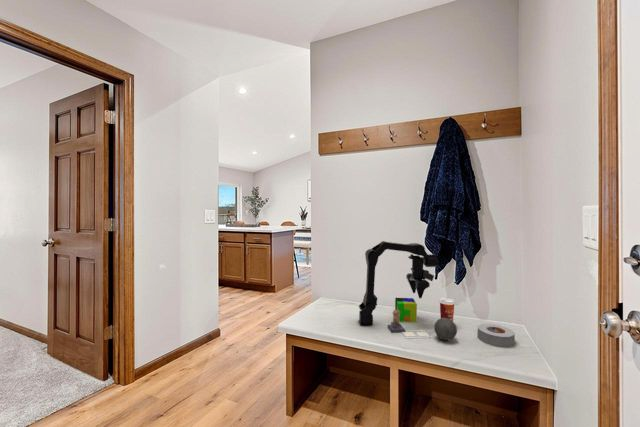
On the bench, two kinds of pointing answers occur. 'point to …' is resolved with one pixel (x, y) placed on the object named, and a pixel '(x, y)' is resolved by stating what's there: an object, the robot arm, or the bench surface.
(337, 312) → the bench surface
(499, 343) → the tape roll
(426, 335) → the print card
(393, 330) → the ink pad
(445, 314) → the paper cup
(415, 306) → the puzzle toy
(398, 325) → the stamp
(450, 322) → the decorative ball
